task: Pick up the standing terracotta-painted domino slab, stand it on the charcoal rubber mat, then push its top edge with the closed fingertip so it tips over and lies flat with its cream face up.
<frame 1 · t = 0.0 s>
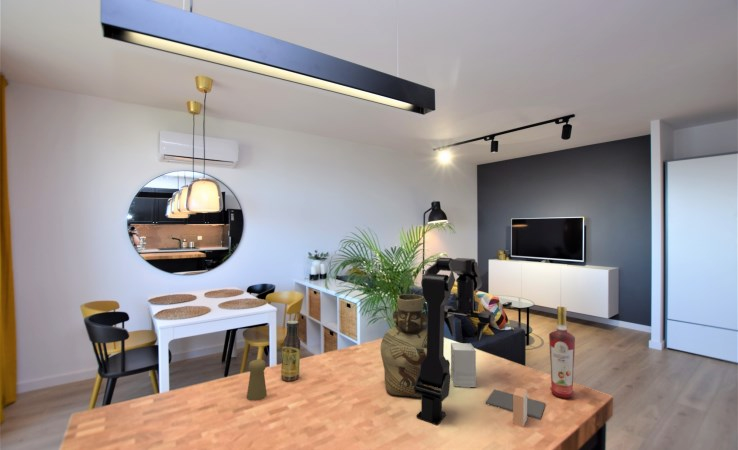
hand: (465, 338, 119), 15 cm above the kitchen island, fingers open, 9 cm apart
liquor: (561, 395, 109), on the kitchen island
supplement box: (462, 383, 117), on the kitchen island
sauce bottle: (290, 378, 120), on the kitchen island
mat: (515, 404, 103), on the kitchen island
pepper mill: (256, 396, 107), on the kitchen island
ceramic vessel: (409, 386, 115), on the kitchen island
slab: (520, 421, 94), on the kitchen island
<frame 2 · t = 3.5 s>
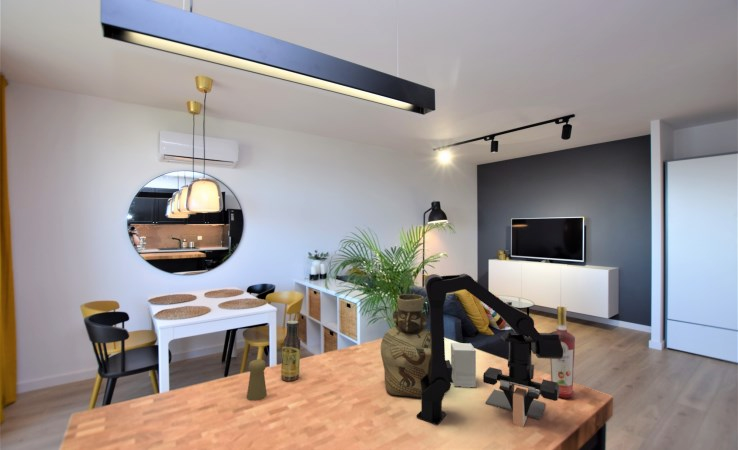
hand: (520, 413, 94), 2 cm above the kitchen island, fingers closed on slab, 3 cm apart
slab: (519, 421, 94), on the kitchen island, touching gripper
everything else where it was.
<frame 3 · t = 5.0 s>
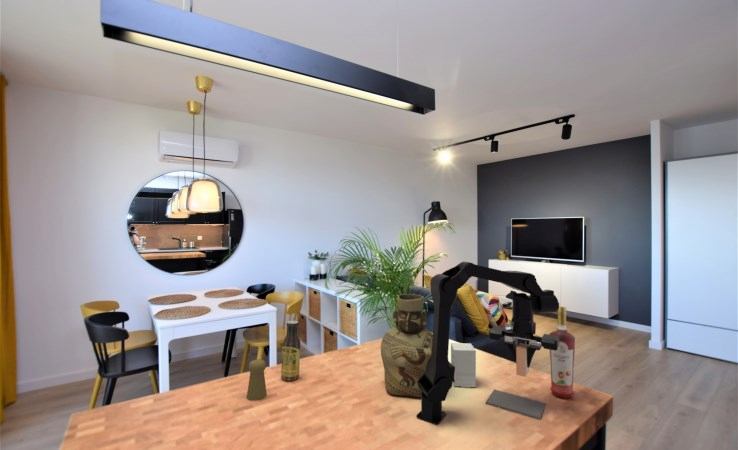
hand: (523, 366, 102), 12 cm above the kitchen island, fingers closed on slab, 3 cm apart
slab: (522, 372, 102), point 10 cm above the kitchen island, touching gripper
everything else where it was.
when the fingers open (3 cm above the kitchen island, at t = 6.9 s): slab stays where it is, resting on mat.
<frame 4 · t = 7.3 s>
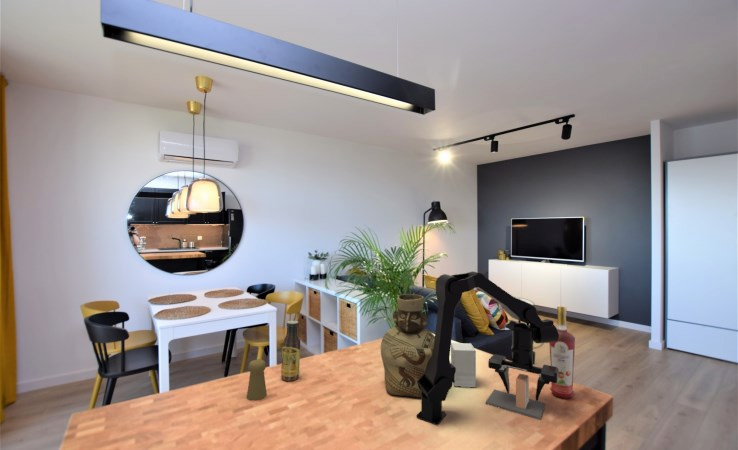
hand: (522, 396, 102), 3 cm above the kitchen island, fingers open, 8 cm apart
slab: (522, 404, 102), point 1 cm above the kitchen island, touching mat
everything else where it was.
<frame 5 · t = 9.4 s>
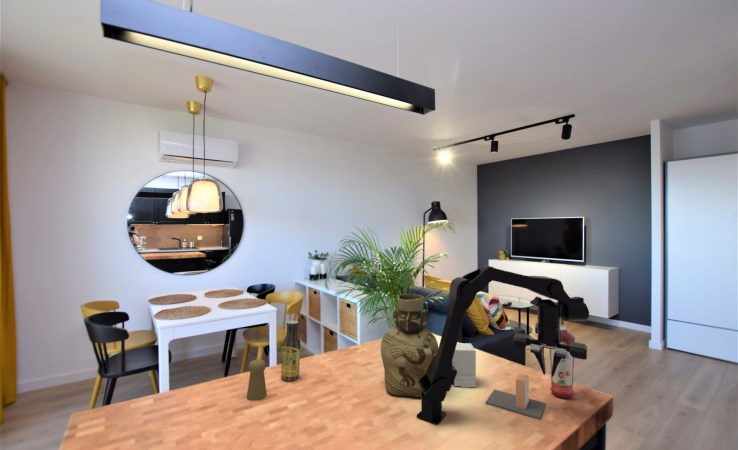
hand: (548, 375, 98), 11 cm above the kitchen island, fingers closed
nothing on the kitchen island moved.
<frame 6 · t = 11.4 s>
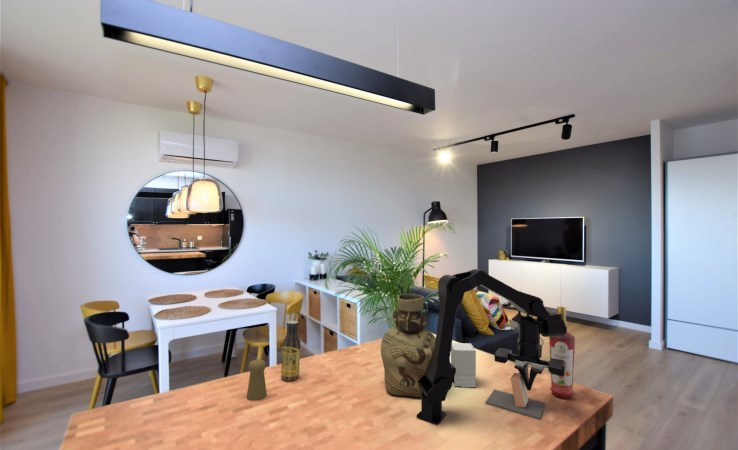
hand: (529, 390, 101), 5 cm above the kitchen island, fingers closed
slab: (522, 403, 102), point 1 cm above the kitchen island, tilted 11°, touching mat
everything else where it was.
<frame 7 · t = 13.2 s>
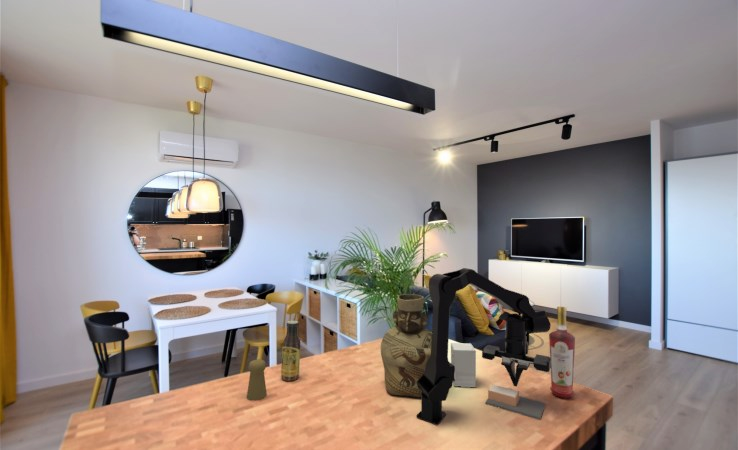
hand: (515, 385, 103), 6 cm above the kitchen island, fingers closed
slab: (517, 398, 103), point 2 cm above the kitchen island, tilted 90°, touching mat
everything else where it was.
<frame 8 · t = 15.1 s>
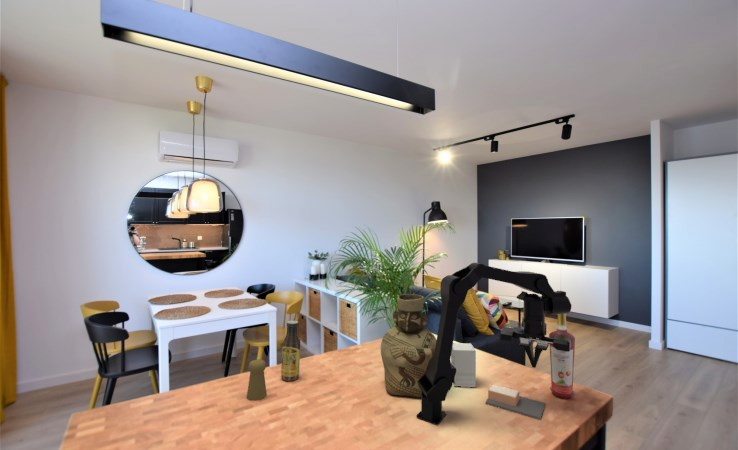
hand: (534, 367, 101), 12 cm above the kitchen island, fingers closed
nothing on the kitchen island moved.
at the end: slab tilted 90°; slab inside the target area on the mat (2.1 cm from its centre), point 1.8 cm above the mat's base; the gripper is holding nothing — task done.
